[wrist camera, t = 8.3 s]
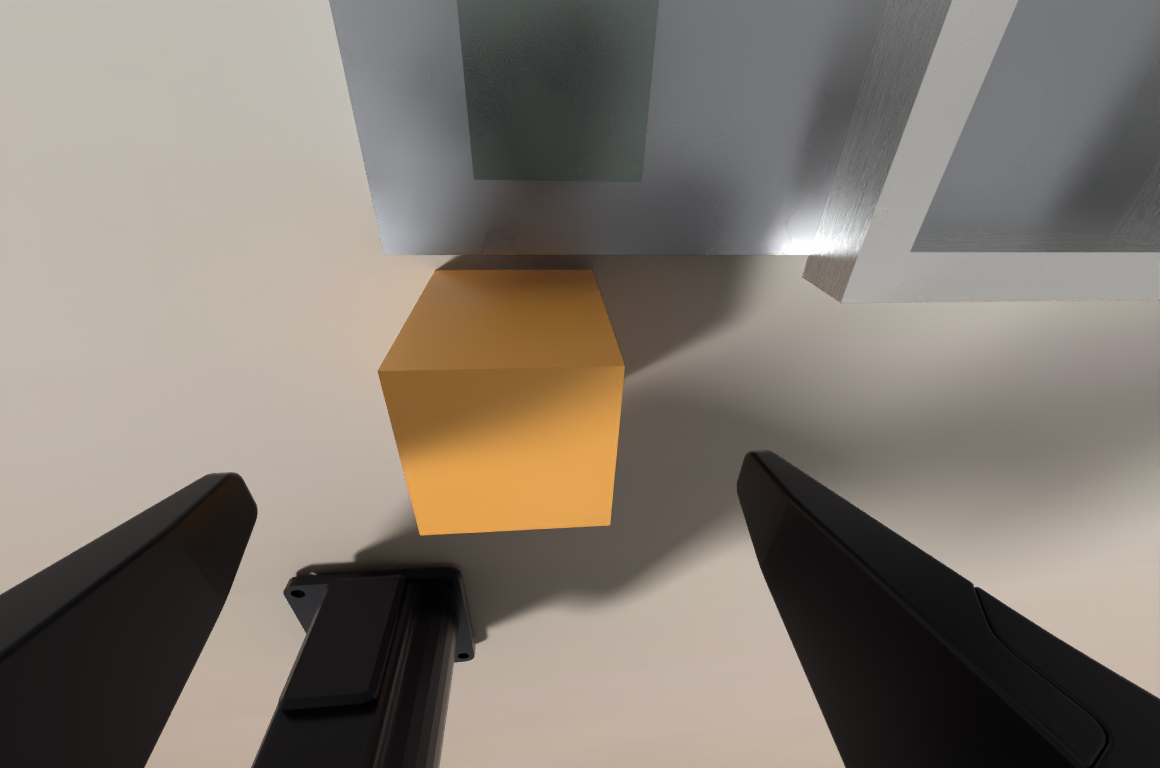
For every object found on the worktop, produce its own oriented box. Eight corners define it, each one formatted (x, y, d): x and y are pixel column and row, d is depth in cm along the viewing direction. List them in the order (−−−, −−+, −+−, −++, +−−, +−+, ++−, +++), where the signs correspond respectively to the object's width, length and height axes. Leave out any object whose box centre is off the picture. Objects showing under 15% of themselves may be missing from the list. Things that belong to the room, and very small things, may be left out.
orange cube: (586, 395, 14) (610, 525, 10) (455, 398, 13) (420, 535, 9) (592, 269, 12) (624, 366, 7) (435, 269, 11) (377, 371, 7)
